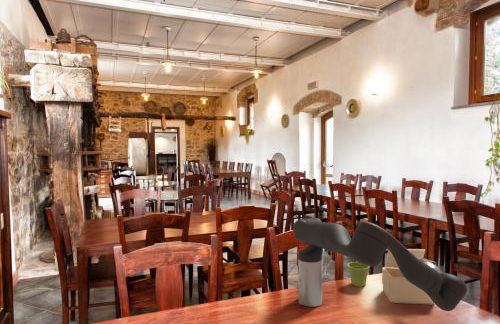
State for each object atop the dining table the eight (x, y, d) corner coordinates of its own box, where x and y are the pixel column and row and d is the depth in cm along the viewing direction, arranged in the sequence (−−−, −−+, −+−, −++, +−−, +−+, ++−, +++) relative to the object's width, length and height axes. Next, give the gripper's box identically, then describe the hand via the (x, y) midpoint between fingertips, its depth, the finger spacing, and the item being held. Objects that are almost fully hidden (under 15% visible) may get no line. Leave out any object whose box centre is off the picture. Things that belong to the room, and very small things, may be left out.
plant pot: (371, 289, 149) (371, 269, 148) (348, 287, 150) (348, 268, 150) (368, 281, 158) (368, 262, 157) (346, 280, 160) (346, 261, 159)
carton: (389, 303, 135) (389, 278, 134) (381, 290, 147) (381, 267, 147) (435, 305, 133) (435, 279, 132) (423, 292, 145) (423, 268, 144)
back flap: (385, 266, 146) (388, 249, 140) (385, 265, 146) (388, 248, 141) (420, 267, 144) (425, 250, 139) (420, 266, 144) (424, 249, 139)
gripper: (407, 283, 120) (393, 266, 137) (447, 284, 118) (428, 267, 135) (407, 261, 119) (393, 247, 137) (447, 262, 118) (428, 248, 135)
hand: (410, 257), depth 136 cm, fingers closed
